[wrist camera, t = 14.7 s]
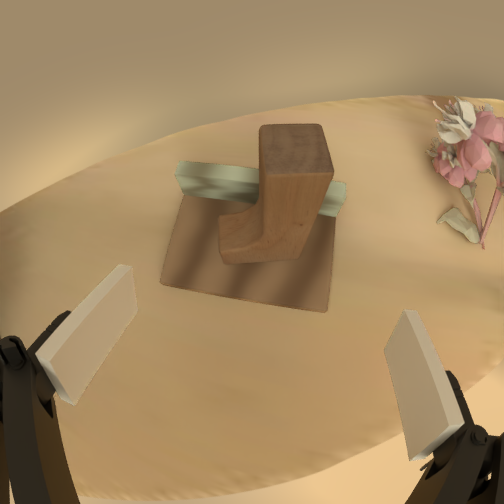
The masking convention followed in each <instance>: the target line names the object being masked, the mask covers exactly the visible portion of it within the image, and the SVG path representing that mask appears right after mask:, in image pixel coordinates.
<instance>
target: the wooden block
mask: <svg viewBox="0 0 504 504" xmlns="http://www.w3.org/2000/svg"><path fill="white" fill-rule="evenodd" d="M333 175H334V168H333V164H332V161H331V157H330V153H329V150H328V146H327V143H326V139H325V136H324V132H323V129H322V126H321V125H319V124H272V125H263V126H261V127H260V129H259V198H258V200H257V202H256V204H255V205H254V206H252V207H250V208H248V209H246V210H245V211H243V212H237V213H231V214H225V215H220V216H219V218H218V242H219V253H220V255H221V258H222V260H223V263H224V264H226V265H227V264H241V263H255V262H268V261H281V260H294V259H298V258H299V257H300V255H301V253H302V251H303V248H304V246H305V244H306V241H307V239H308V236H309V234H310V232H311V229H312V227H313V224H314V222H315V220H316V217H317V215H318V212H319V210H320V207H321V205H322V202H323V200H324V197H325V195H326V192H327V190H328V187H329V185H330V182H331V180H332V177H333Z"/></svg>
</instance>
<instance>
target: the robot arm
mask: <svg viewBox="0 0 504 504" xmlns="http://www.w3.org/2000/svg"><path fill="white" fill-rule="evenodd" d="M137 312H138V306H137V299H136V292H135V285H134V277H133V268H132V266H127V265H123V264H119V265H118V266H117V267H116V268H114V269H113V270H112V271H111V272H110V273H109V274H108V275H107V276H106V277H105V278H104V279H103V280H102V281H101V282H100V283H99V284H98V285H97V286H96V287H95V288H94V289H93V290H92V291H91V292H90V293H89V295H88V296H87V297H86V298H85V299H84V300H83V301H82V302H81V303H80V304H79V305H78V306H77V307H76V308H75V309H74V310H73V311H72V312H71V311H68V310H67V311H66V312H64V313H62V314H60V315H59V316H57V318H56V319H55V320H54V321H53V322H52V323H51V325H49V326H48V327H47V328H46V331H44V332H43V333H42V334H41V335H40V336H39V337H38V338H37V339H36V341H35V342H34V343H33V344H32V345H31V346H30V347H29V349H28V350H26V348H25V347H24V344H23V342H22V341H21V339H20V338H19V337H17V336H7V337H4V338H3V339H2V340H0V504H10V498H9V497H10V495H9V480H10V482H11V488H12V493H13V497H14V501H15V504H80V502H79V499H78V496H77V493H76V490H75V487H74V484H73V481H72V478H71V474H70V471H69V467H68V464H67V460H66V456H65V452H64V448H63V444H62V439H61V434H60V429H59V424H58V419H57V413H56V406H55V400H54V398H53V394H54V393H55V391H56V392H57V393H58V395H59V397H60V398H61V399H62V400H64V401H66V402H68V403H69V404H71V405H73V406H75V405H76V404H77V402H78V401H79V399H80V397H81V396H82V394H83V393H84V391H85V389H86V388H87V386H88V385H89V383H90V382H91V380H92V378H93V377H94V375H95V374H96V372H97V371H98V369H99V368H100V366H101V365H102V363H103V362H104V360H105V359H106V357H107V356H108V354H109V353H110V351H111V350H112V348H113V347H114V345H115V344H116V342H117V341H118V339H119V338H120V337H121V335H122V334H123V332H124V331H125V329H126V328H127V326H128V325H129V324H130V322H131V321H132V319H133V318H134V317H135V315H136V314H137ZM384 353H385V357H386V360H387V364H388V367H389V371H390V375H391V378H392V382H393V386H394V390H395V394H396V398H397V403H398V407H399V411H400V416H401V420H402V425H403V430H404V435H405V440H406V445H407V450H408V457H409V461H414V460H420V459H425V458H426V457H427V456H428V455H430V454H431V453H432V452H433V456H434V458H433V459H432V460H430V461H429V462H428V463H427V464H425V465H424V466H423V467H422V468H421V469H420V471H422V470H423V469H425V468H426V467H427V468H426V470H425V472H424V473H423V475H422V477H421V479H420V480H419V482H418V484H417V485H416V487H415V489H414V490H413V492H412V494H411V495H410V497H409V498H408V500H407V501H406V503H405V504H504V432H503V433H502V434H501V435H500V436H491V435H488V433H487V432H486V430H485V429H484V428H483V427H481V426H479V425H475V424H474V422H473V419H472V417H471V414H470V411H469V408H468V406H467V403H466V401H465V398H464V397H463V396H464V395H463V393H462V390H460V385H459V383H458V381H457V379H456V377H455V376H454V375H453V374H452V373H451V371H445V370H444V367H443V365H442V363H441V360H440V358H439V356H438V354H437V351H436V349H435V347H434V345H433V343H432V341H431V338H430V336H429V334H428V332H427V330H426V328H425V326H424V324H423V322H422V320H421V318H420V316H419V314H418V312H417V310H409V309H404V310H403V312H402V314H401V316H400V318H399V320H398V323H397V325H396V327H395V329H394V331H393V333H392V335H391V337H390V339H389V341H388V343H387V345H386V347H385V349H384ZM490 473H491V479H489V480H488V475H489V474H490Z"/></svg>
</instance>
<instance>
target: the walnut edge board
mask: <svg viewBox="0 0 504 504" xmlns="http://www.w3.org/2000/svg"><path fill="white" fill-rule="evenodd" d="M175 176H176V179H177V181H178V183H179V185H180V187H181V190H182V192H183V194H184V196H183V200H182V203H181V206H180V209H179V213H178V216H177V219H176V223H175V226H174V229H173V233H172V236H171V240H170V244H169V247H168V251H167V255H166V258H165V262H164V266H163V270H162V274H161V278H160V283H161V284H163V285H166V286H171V287H176V288H181V289H186V290H191V291H196V292H201V293H206V294H211V295H217V296H222V297H228V298H233V299H239V300H245V301H250V302H256V303H262V304H269V305H275V306H281V307H288V308H294V309H301V310H308V311H315V312H322V313H325V312H327V308H328V299H329V291H330V281H331V271H332V261H333V249H334V236H335V221H336V216H337V214H338V212H339V210H340V208H341V206H342V205H343V203H344V201H345V199H346V183H341V182H336V181H331V182H330V185H329V187H328V190H327V192H326V195H325V197H324V200H323V202H322V205H321V207H320V210H319V212H318V215H317V217H316V220H315V222H314V224H313V227H312V229H311V232H310V234H309V236H308V239H307V241H306V244H305V246H304V248H303V251H302V253H301V255H300V257H299V258H298V259H294V260H281V261H268V262H255V263H241V264H227V265H226V264H224V263H223V260H222V258H221V255H220V253H219V242H218V218H219V216H220V215H225V214H231V213H237V212H243V211H245V210H246V209H248V208H250V207H252V206H254V205H255V204H256V202H257V200H258V198H259V169H255V168H247V167H239V166H230V165H221V164H211V163H200V162H188V161H179V163H178V166H177V169H176V172H175Z"/></svg>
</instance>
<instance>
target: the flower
mask: <svg viewBox="0 0 504 504" xmlns="http://www.w3.org/2000/svg"><path fill="white" fill-rule="evenodd" d="M454 97H455V99H456V101H457V102H456V103H455V104H454V105H455V106H454V105H453V104H452V103H451V101H450V100H449V105H450V107H451V108H450V107H449V106H446V105H445V104H444V106H445V109H446V112H445V111H443V110H442V109H441V108H440V107H438V106H437V104H436V102H435V100H434V101H433V104H434V106H435V107H437V108H438V109H439V110H440V111H441V112H442V114H443V117H444V120H445V121H440V120H438V119H435V122H440V123H441V124H437V130H438V132H439V135H440V137H441V138H442V143H440V142H439V140H438V138H436V137H435V138H432V141H433V143H434V146H435V148H436V149H435V148H434V147H433V148H431V149H432V150H434V151H435V152H436V153H432V152H434V151H432V150H430V151H432V152H430V151H429V150H427V149H426V153H427V154H429V155H430V156H432V157H434V158H435V159H433V160H431V161H432V163H433V166H434V168H435V171H436V173H440V174H441V175H442V176H443V177H444V178H445V179H446V180H449V181H448V182H449V183H450V184H451V185H453V186H456V187H459V188H460V190H461V192H462V194H463V195H464V197H465V199H467V200H468V201H469V202H470V204H471V206H472V208H474V212H475V216H476V220H477V224H478V229H479V232H478V229H477V227H476V225H475V224H474V223H472V222H471V221H469V220H468V219H466V218H465V217H463V215H462V214H461V212H460V211H459V209H458V208H454V207H453V208H452V209H450V210H449V211H448V212H446V213H445V214H444V215H442V217H441V218H440V219H439V220H438V221H437V224H439V223H441V222H444V221H446V222H447V223H448V224H450V225H451V226H452V227H453V228H454V229H456V230H458V231H460V232H461V233H463V234H464V235H465V236H466V238H467V239H468V240H469V241H470V242H473V243H476V244H477V243H478V242H479V243H481V244H482V249H484V250H485V248H484V239H485V236H486V233H487V230H488V228H489V226H490V223H491V221H492V218H493V216H494V213H495V211H496V208H497V206H498V203H499V200H500V198H501V195H503V196H504V118H502V117H497V118H496V116H495V115H494V114H493V107H492V106H491V105H490V104H487V103H485V102H484V103H485V108H484V109H483V106H482V109H483V111H479V110H478V109H477V108H476V107H475V105H474V108H473V105H472V104H471V103H469V102H468V101H467V100H465V101H461V100H460V99H459V98H457V97H456V96H454ZM479 109H480V106H479ZM480 110H481V109H480ZM486 143H487V144H486ZM431 145H432V143H431ZM432 146H433V145H432ZM490 166H491V171H492V174H493V175H494V177H495V178H496V180H497V187H496V190H495V193H494V196H493V199H492V202H491V206H490V209H489V212H488V215H487V218H486V222H485V225H484V227H483V229H482V221H481V214H480V210H479V207H478V205H477V202H476V199H475V191H476V186H477V185H476V183H474V182H475V180H476V178H477V176H478V173H479V172H480V173H487V172H489V173H490V174H491V172H490V170H489V169H488V168H489V167H490ZM492 174H491V175H492ZM465 177H466V178H467V181H466V178H465ZM463 184H464V186H463V187H462V185H463ZM461 187H462V188H461ZM479 233H480V234H479Z"/></svg>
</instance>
